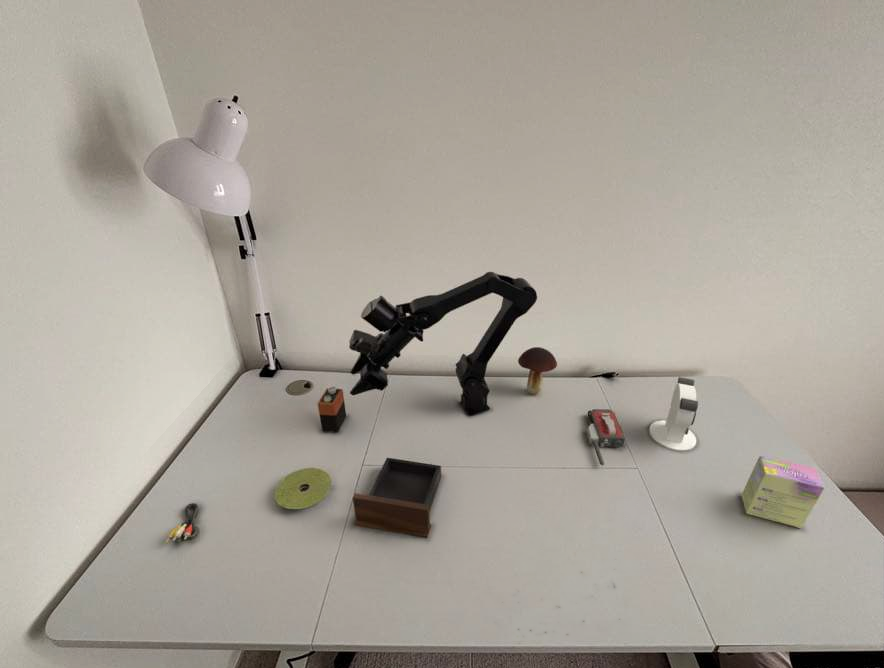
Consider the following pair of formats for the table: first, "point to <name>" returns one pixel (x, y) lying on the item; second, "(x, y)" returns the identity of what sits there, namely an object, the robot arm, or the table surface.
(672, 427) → the white upright stand
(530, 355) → the decorative mushroom
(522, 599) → the table surface
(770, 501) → the box
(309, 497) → the mat
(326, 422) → the battery
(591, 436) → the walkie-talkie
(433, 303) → the robot arm
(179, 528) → the composite cable
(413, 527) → the wooden drawer
